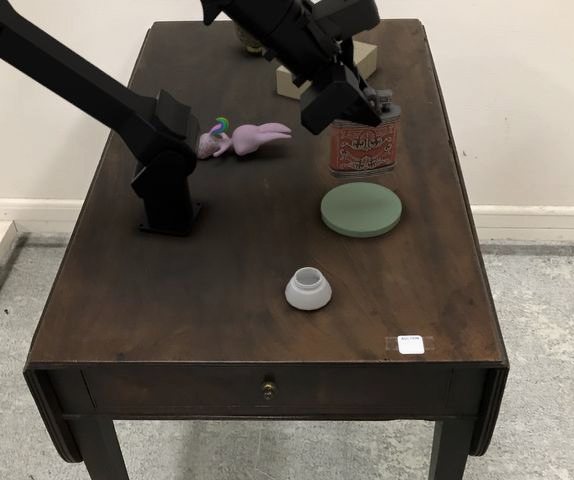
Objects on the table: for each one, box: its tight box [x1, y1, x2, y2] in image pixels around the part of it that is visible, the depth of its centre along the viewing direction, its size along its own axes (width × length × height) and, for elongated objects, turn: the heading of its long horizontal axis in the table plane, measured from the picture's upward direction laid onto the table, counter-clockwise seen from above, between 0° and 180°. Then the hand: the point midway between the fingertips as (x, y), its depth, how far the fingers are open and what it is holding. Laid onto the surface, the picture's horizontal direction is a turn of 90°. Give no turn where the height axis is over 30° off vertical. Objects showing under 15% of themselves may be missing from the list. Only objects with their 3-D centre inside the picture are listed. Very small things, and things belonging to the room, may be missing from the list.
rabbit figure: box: [197, 116, 292, 160], centre depth 95 cm, size 6×6×15 cm
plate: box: [320, 181, 403, 238], centre depth 87 cm, size 10×10×1 cm
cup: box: [233, 22, 262, 56], centre depth 116 cm, size 8×7×8 cm
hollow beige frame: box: [275, 40, 378, 101], centre depth 109 cm, size 14×11×4 cm
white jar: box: [284, 266, 333, 311], centre depth 76 cm, size 5×3×5 cm
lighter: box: [327, 86, 402, 179], centre depth 79 cm, size 8×3×10 cm, turn 99°
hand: (377, 115), depth 77 cm, fingers closed on lighter, 3 cm apart
